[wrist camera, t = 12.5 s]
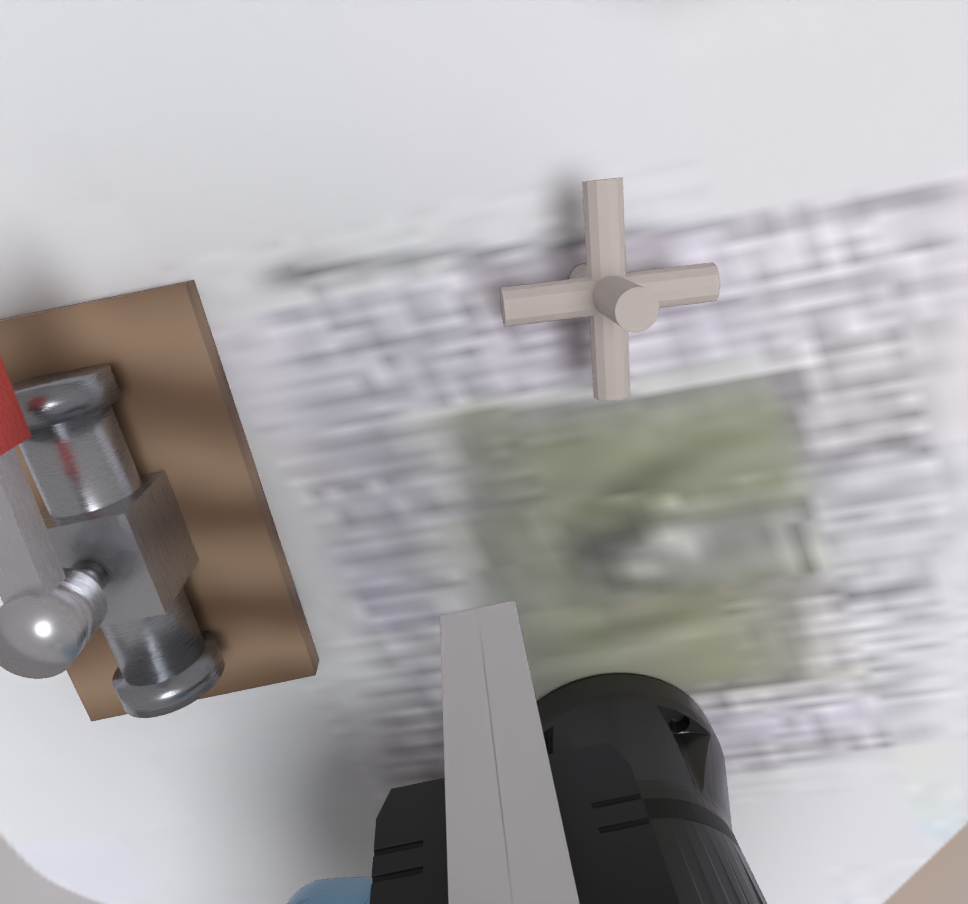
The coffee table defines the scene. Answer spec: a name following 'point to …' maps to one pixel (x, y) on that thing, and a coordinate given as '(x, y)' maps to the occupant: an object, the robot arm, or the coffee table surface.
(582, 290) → the pipe connector
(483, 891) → the robot arm
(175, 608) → the valve body
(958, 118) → the coffee table surface
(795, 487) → the coffee table surface
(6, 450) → the valve handle
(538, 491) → the coffee table surface
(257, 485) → the walnut board
